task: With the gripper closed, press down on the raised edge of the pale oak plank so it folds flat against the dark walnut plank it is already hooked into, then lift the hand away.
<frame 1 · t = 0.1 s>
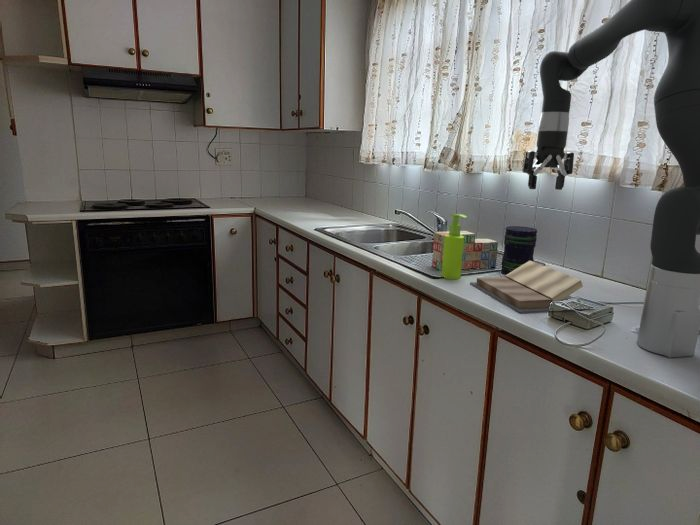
hand: (545, 189, 133), 29 cm above the worktop, fingers open, 8 cm apart
soap dispenser: (452, 277, 148), on the worktop
storage jar: (516, 273, 156), on the worktop
walnut plank: (510, 296, 130), resting on underlay mat
stack of blocks: (463, 267, 162), on the worktop
oak plank: (541, 280, 131), point 4 cm above the worktop, hinge at 30.0°
underlay mat: (527, 295, 131), on the worktop
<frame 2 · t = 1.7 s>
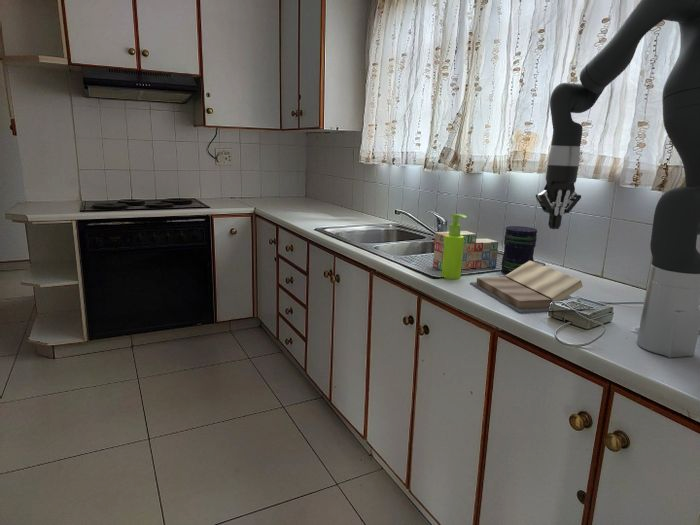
hand: (554, 228, 128), 19 cm above the worktop, fingers closed
nothing on the worktop moved.
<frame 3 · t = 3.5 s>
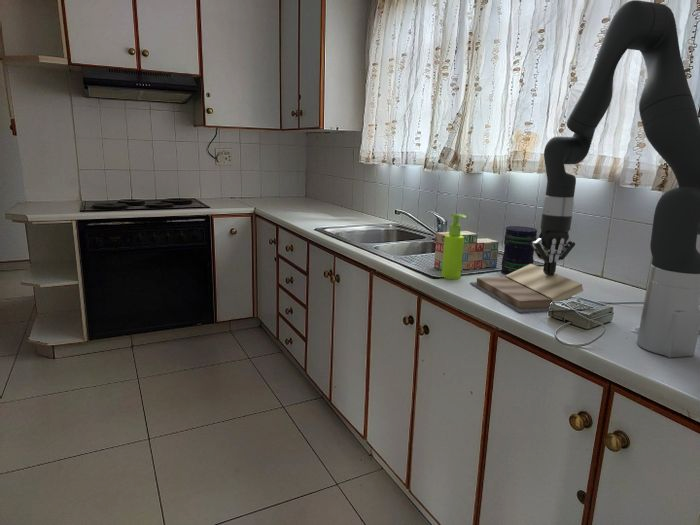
hand: (548, 274, 131), 6 cm above the worktop, fingers closed
oak plank: (541, 282, 131), point 4 cm above the worktop, hinge at 22.9°, touching gripper
everything else where it was.
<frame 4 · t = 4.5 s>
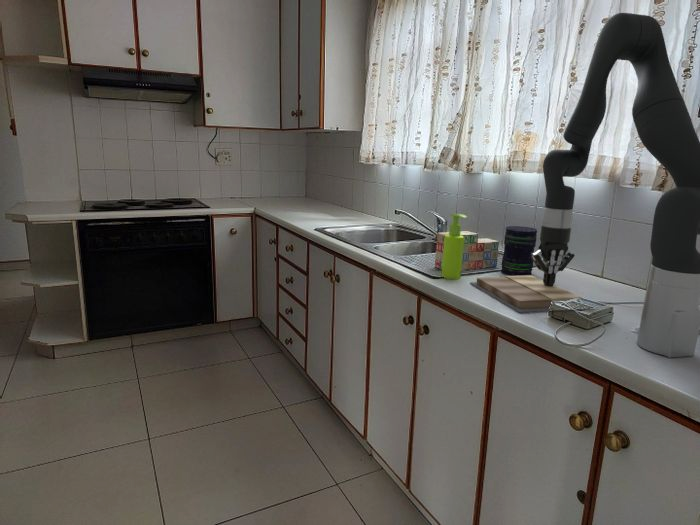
hand: (548, 285, 132), 3 cm above the worktop, fingers closed
oak plank: (540, 289, 132), point 2 cm above the worktop, hinge at -0.4°, touching gripper
everything else where it was.
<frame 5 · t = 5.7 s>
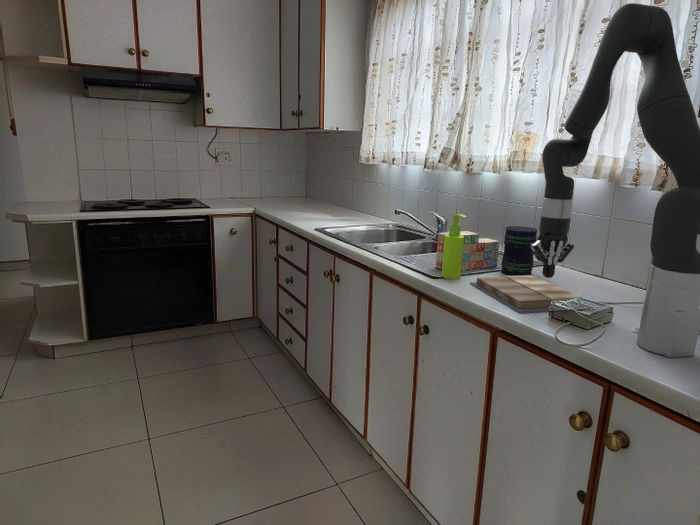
hand: (547, 277, 131), 5 cm above the worktop, fingers closed
oak plank: (540, 289, 132), point 2 cm above the worktop, hinge at -0.5°
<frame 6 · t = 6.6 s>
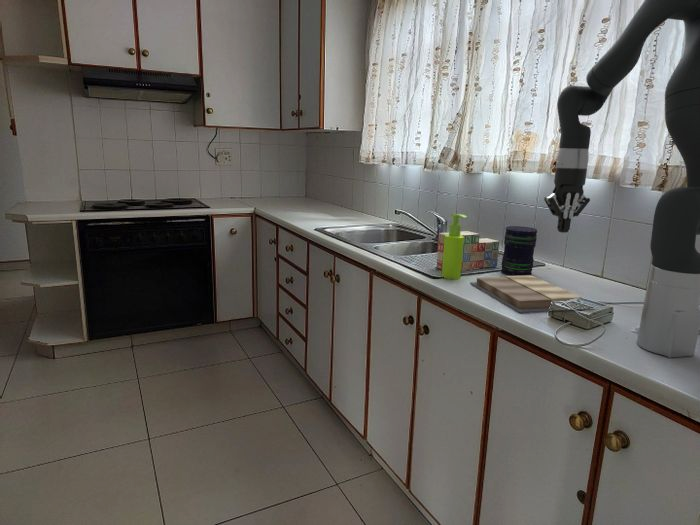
hand: (563, 232, 127), 18 cm above the worktop, fingers closed
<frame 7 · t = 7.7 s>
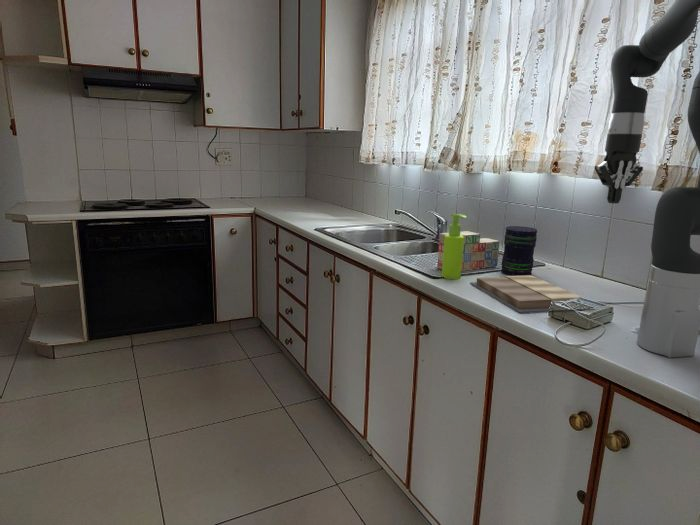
hand: (613, 203, 120), 27 cm above the worktop, fingers closed
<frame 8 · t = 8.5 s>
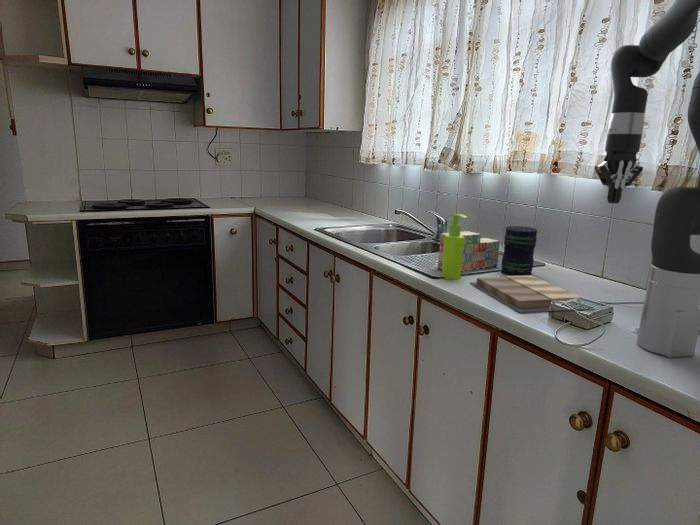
hand: (613, 203, 120), 27 cm above the worktop, fingers closed
at the end: oak plank at +0° (first picture: +30°) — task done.
